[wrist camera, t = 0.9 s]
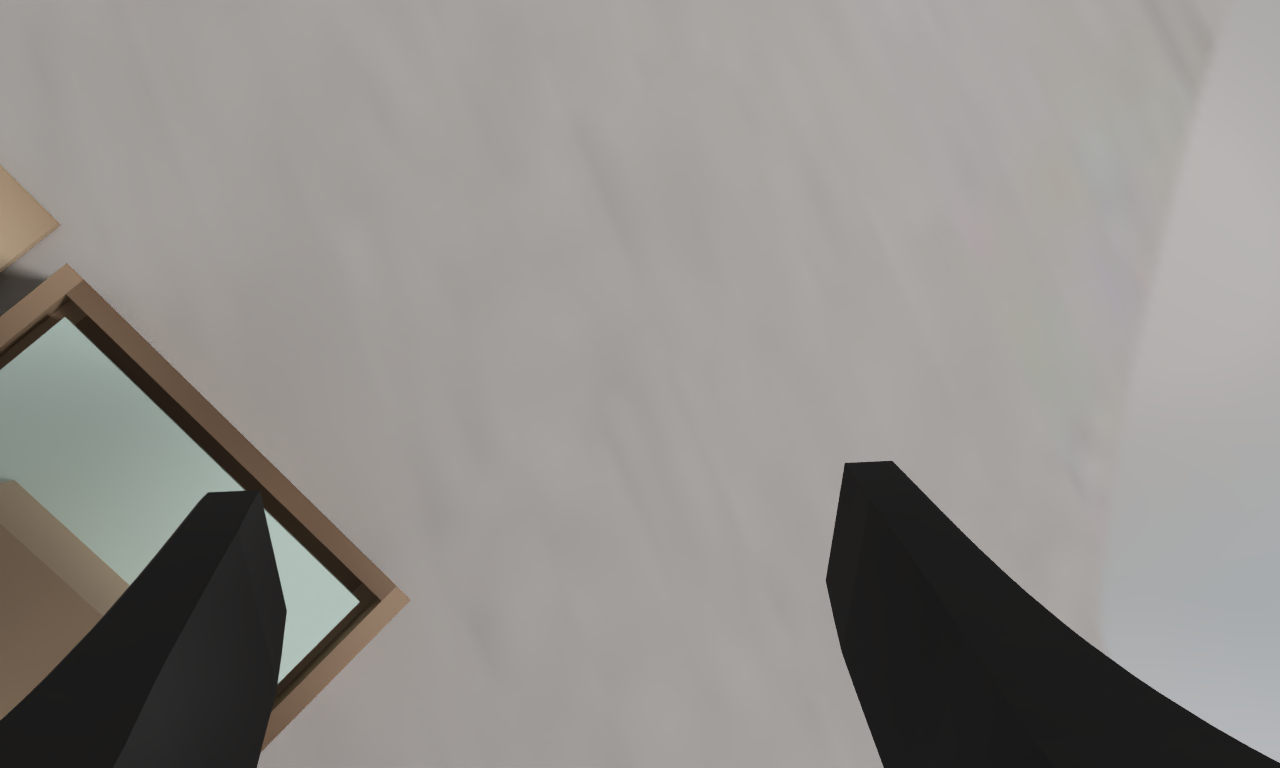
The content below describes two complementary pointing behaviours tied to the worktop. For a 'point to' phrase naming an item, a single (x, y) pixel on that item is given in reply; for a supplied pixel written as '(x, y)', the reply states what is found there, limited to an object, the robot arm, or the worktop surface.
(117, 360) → the box
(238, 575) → the robot arm
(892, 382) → the worktop surface
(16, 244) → the mat
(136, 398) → the lid
